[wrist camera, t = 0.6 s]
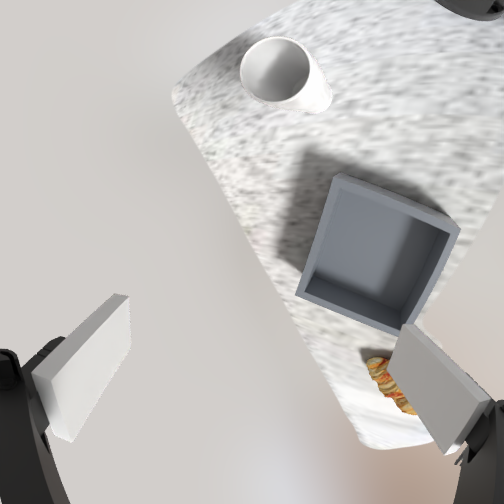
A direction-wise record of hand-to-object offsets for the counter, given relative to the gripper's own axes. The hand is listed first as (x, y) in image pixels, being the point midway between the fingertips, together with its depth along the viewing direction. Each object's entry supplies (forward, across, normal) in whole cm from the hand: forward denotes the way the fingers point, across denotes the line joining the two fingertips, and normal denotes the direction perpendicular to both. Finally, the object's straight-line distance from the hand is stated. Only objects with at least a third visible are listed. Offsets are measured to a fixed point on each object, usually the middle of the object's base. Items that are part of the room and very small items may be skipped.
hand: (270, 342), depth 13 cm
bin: (+25, +16, +1) cm, 30 cm away
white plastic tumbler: (+26, +5, +20) cm, 33 cm away
